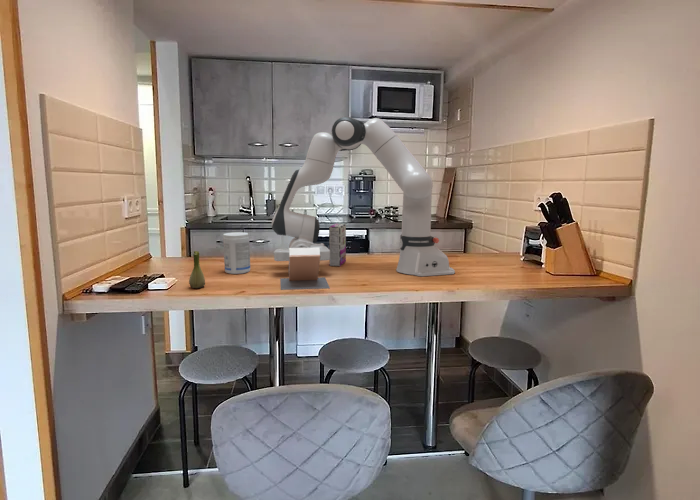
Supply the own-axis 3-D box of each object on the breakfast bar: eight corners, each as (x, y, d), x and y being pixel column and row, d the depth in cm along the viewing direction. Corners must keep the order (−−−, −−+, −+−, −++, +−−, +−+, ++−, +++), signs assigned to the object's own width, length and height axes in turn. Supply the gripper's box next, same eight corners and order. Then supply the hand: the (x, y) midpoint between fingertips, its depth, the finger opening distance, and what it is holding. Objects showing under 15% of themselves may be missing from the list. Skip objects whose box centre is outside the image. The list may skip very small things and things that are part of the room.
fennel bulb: (198, 290, 146) (197, 253, 144) (185, 289, 148) (183, 252, 146) (208, 286, 152) (207, 250, 150) (195, 285, 153) (193, 249, 151)
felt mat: (324, 278, 165) (325, 277, 165) (330, 289, 150) (330, 288, 150) (280, 279, 163) (280, 278, 163) (280, 290, 147) (280, 289, 147)
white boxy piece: (317, 271, 163) (319, 247, 152) (317, 280, 161) (320, 256, 150) (288, 272, 162) (289, 247, 151) (289, 280, 159) (289, 256, 149)
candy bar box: (334, 261, 198) (335, 223, 195) (346, 261, 197) (346, 223, 194) (328, 266, 187) (328, 226, 184) (340, 266, 186) (340, 226, 183)
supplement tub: (252, 269, 179) (251, 232, 176) (247, 274, 169) (246, 235, 167) (227, 269, 178) (226, 231, 176) (221, 274, 169) (220, 235, 167)
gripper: (273, 243, 171) (272, 250, 158) (327, 243, 174) (331, 249, 161) (273, 260, 172) (273, 267, 159) (327, 259, 175) (331, 266, 162)
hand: (303, 258), depth 160 cm, fingers closed
